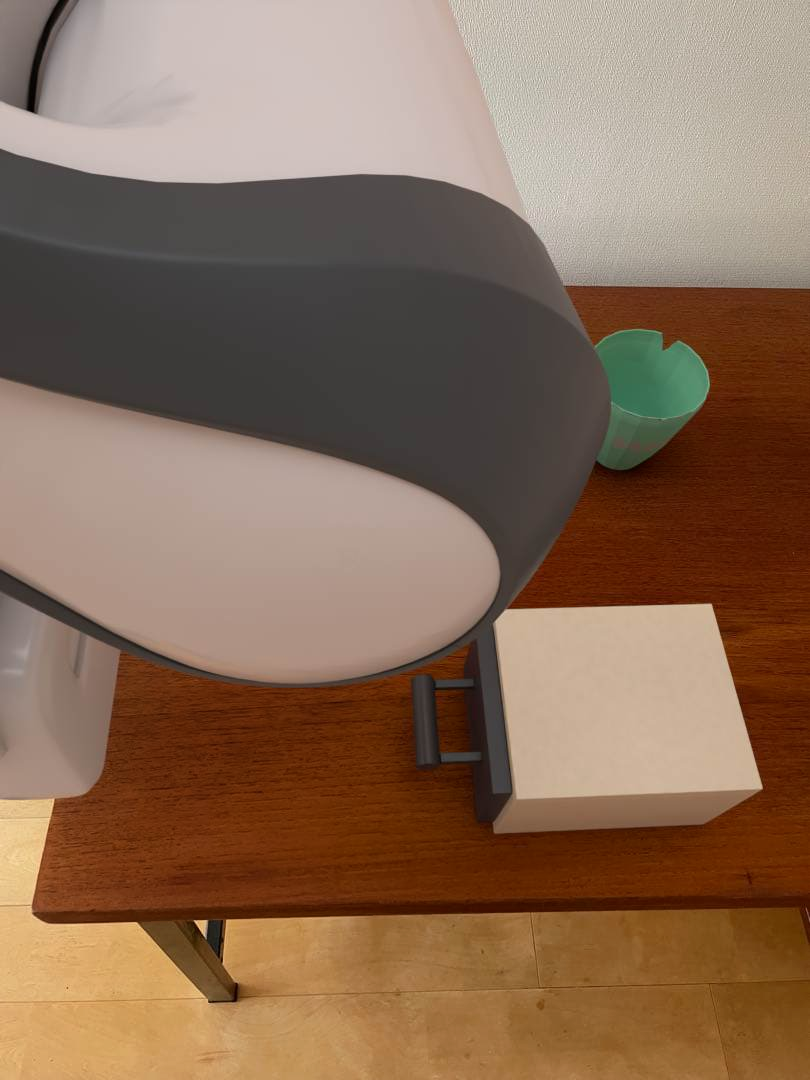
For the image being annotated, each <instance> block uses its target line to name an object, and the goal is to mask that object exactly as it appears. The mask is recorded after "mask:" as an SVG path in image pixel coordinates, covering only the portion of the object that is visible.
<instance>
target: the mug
mask: <svg viewBox="0 0 810 1080" xmlns="http://www.w3.org/2000/svg"><path fill="white" fill-rule="evenodd" d="M664 340H665V339H664V334H663V332H660V331H657V330H653V329H652V330H651V329H642V328H633V329H624V330H618V331H616V332H614V333H611V334H608V335H606V336H604V337H603V338H602V339H601V340H600V341H598V343H597V344H596V345H594V348H595V350H596V352H597V354H598V356H599V358H600V360H601V362H602V364H603V366H604V368H605V371H606V374H607V377H608V381H609V386H610V392H611V415H610V422H609V427H608V431H607V434H606V438H605V441H604V443H603V446H602V448H601V451H600V453H599V455H598V457H597V459H596V462H598V463H599V464H600V465H601V466H603V467H605V468H608V469H611V470H616V471H626V470H630V469H632V468H634V467H637V466H639V464H641V463H643V462H645V461H646V460H648V459H649V458H651V457H652V456H653V455H655V454H656V453H657V452H658V451H659V450H661V449H662V448H664V446H666V445H667V444H668V443H669V442H670V441H671V440H672V438H674V437H675V436H676V435H677V433H678V432H679V431H680V430H681V429H682V428H683V427H684V426H685V425H686V424H688V422H689V421H690V420H691V419H692V418H693V417H694V416H695V415H696V414H697V413H698V412H699V411H700V410H701V408H702V407H703V406H704V404H705V402H706V400H707V397H708V395H709V391H710V387H711V382H710V372H709V371H708V368H707V366H706V365H705V363H704V361H703V359H702V357H700V356H699V355H698V354H697V352H695V351H694V350H693V349H692V347H690V345H688V344H686V343H684V342H682V341H681V340H678V339H677V340H675V341H674V342H673V343H672V344H671V345H670V346H669V347H667V348H665V349H664V342H665V341H664Z"/></svg>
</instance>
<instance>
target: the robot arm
mask: <svg viewBox="0 0 810 1080" xmlns="http://www.w3.org/2000/svg"><path fill="white" fill-rule="evenodd" d="M594 347H595V345H594V343H593V341H592V339H591V337H590V336H589V334H588V331H587V330H586V328H585V326H584V324H583V321H582V319H581V317H580V316H579V314H578V311H577V309H576V307H575V306H574V303H573V301H572V300H571V297H570V296H569V293H568V291H567V289H566V287H565V284H564V283H563V281H562V279H561V277H560V275H559V272H558V271H557V269H556V266H555V265H554V262H553V260H552V258H551V256H550V254H549V251H548V249H547V248H546V246H545V243H544V242H543V241H542V239H541V238H540V236H538V234H537V232H536V231H535V230H534V228H533V226H531V224H530V221H529V218H528V216H527V213H526V210H525V207H524V204H523V201H522V199H521V196H520V193H519V190H518V187H517V185H516V181H515V179H514V176H513V173H512V171H511V168H510V165H509V162H508V159H507V156H506V153H505V151H504V147H503V144H502V142H501V139H500V135H499V133H498V130H497V128H496V125H495V122H494V119H493V116H492V113H491V110H490V108H489V104H488V102H487V99H486V96H485V93H484V91H483V87H482V84H481V82H480V79H479V76H478V73H477V70H476V68H475V65H474V62H473V59H472V57H471V55H470V53H469V51H468V50H467V48H466V46H465V43H464V40H463V37H462V34H461V32H460V29H459V27H458V24H457V21H456V19H455V16H454V13H453V10H452V8H451V5H450V3H449V0H0V800H5V801H6V800H7V801H37V800H38V801H39V800H40V801H41V800H55V799H56V800H57V799H58V800H59V799H67V798H68V799H69V798H74V797H75V798H76V797H80V796H83V795H85V794H87V793H88V792H89V791H90V790H92V788H93V787H94V786H95V785H96V783H97V782H98V781H99V779H100V778H101V776H102V774H103V771H104V767H105V764H106V763H105V762H106V757H107V748H108V741H109V734H110V728H111V719H112V714H113V707H114V699H115V692H116V685H117V680H118V679H117V678H118V673H119V664H120V658H121V652H124V653H126V654H128V655H131V656H133V657H136V658H138V659H141V660H143V661H146V662H149V663H151V664H154V665H157V666H160V667H164V668H167V669H169V670H173V671H176V672H179V673H183V674H187V675H190V676H194V677H199V678H204V679H206V680H211V681H218V682H222V683H229V684H235V685H242V686H243V685H245V686H250V687H251V686H253V687H264V688H283V689H284V688H287V689H291V688H292V689H295V688H296V689H297V688H299V689H300V688H303V689H304V688H305V689H306V688H327V687H336V686H337V687H338V686H346V685H353V684H361V683H366V682H373V681H377V680H382V679H385V678H390V677H395V676H397V675H401V674H404V673H408V672H411V671H414V670H417V669H420V668H423V667H426V666H428V665H430V664H433V663H435V662H437V661H440V660H442V659H444V658H446V657H448V656H451V655H452V654H454V653H456V652H458V651H459V650H461V649H463V648H464V647H466V646H467V645H470V642H472V641H473V640H475V639H476V638H477V637H479V636H480V635H481V634H482V633H483V632H485V631H486V630H487V629H488V628H489V627H490V626H491V625H492V624H493V623H494V622H495V621H496V620H497V619H498V618H499V616H500V615H501V614H502V613H503V612H504V611H505V610H506V609H508V608H509V607H510V605H512V604H513V602H514V600H515V599H516V598H517V597H518V595H519V594H520V593H521V592H522V591H523V590H524V589H525V587H526V585H528V584H529V582H530V581H531V579H532V577H534V575H535V574H536V572H537V571H538V570H539V568H540V567H541V565H542V564H543V562H544V560H545V559H546V558H547V556H548V555H549V553H550V552H551V550H552V548H553V547H554V545H555V543H556V542H557V540H558V538H559V537H560V535H561V534H562V532H563V530H564V528H565V526H566V525H567V522H568V521H569V519H570V517H571V515H572V513H573V511H574V509H576V506H577V504H578V502H579V500H580V498H581V496H582V494H583V492H584V490H585V488H586V486H587V484H588V481H589V478H590V476H591V474H592V472H593V470H594V467H595V464H596V462H597V460H596V459H597V457H598V455H599V453H600V451H601V448H602V446H603V443H604V441H605V438H606V434H607V431H608V427H609V422H610V415H611V392H610V386H609V381H608V377H607V374H606V371H605V368H604V366H603V364H602V362H601V360H600V358H599V356H598V354H597V352H596V350H595V348H594Z"/></svg>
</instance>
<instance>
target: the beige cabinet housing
mask: <svg viewBox="0 0 810 1080" xmlns="http://www.w3.org/2000/svg"><path fill="white" fill-rule="evenodd" d="M493 630H494V639H495V647H496V656H497V664H498V673H499V677H500V679H499V681H500V686H501V687H500V690H501V694H502V696H501V698H502V702H503V704H502V707H503V711H504V713H503V715H504V719H505V721H504V724H505V728H506V730H505V732H506V736H507V738H506V741H507V745H508V747H507V749H508V753H509V755H508V758H509V762H510V764H509V766H510V770H511V772H510V775H511V779H512V781H511V783H512V787H513V788H512V792H513V793H512V795H511V796H510V798H509V799H508V801H507V802H506V804H505V806H504V807H503V809H502V810H501V812H500V814H499V815H498V817H497V818H496V820H495V822H492V829H493V834H495V835H497V834H517V833H518V834H519V833H540V832H541V833H542V832H563V831H583V830H585V831H586V830H607V829H608V830H609V829H630V828H631V829H632V828H633V829H634V828H652V827H677V826H678V827H679V826H696V825H697V826H698V825H705V824H706V823H708V822H710V821H712V820H714V819H716V818H717V817H719V816H720V815H722V814H723V813H725V812H727V811H729V810H731V809H732V808H733V807H735V806H737V805H739V804H740V803H742V802H744V801H746V800H747V799H748V798H750V797H752V796H754V795H755V794H757V793H759V792H760V791H762V790H763V789H764V788H763V784H762V781H761V777H760V773H759V771H758V766H757V762H756V759H755V756H754V751H753V748H752V745H751V741H750V737H749V733H748V730H747V727H746V723H745V719H744V716H743V715H744V714H743V712H742V708H741V705H740V702H739V698H738V694H737V691H736V687H735V684H734V679H733V676H732V672H731V669H730V665H729V662H728V658H727V654H726V650H725V647H724V643H723V640H722V636H721V633H720V629H719V625H718V622H717V618H716V614H715V612H714V608H713V604H712V603H696V604H695V603H694V604H693V603H691V604H686V603H685V604H653V605H651V604H650V605H614V606H581V607H579V606H577V607H544V608H543V607H542V608H541V607H540V608H509V609H508V608H507V609H506V610H505V611H504V612H503V613H502V614H501V615H500V616H499V618H498V619H497V620H496V621H495V622H494V623H493Z"/></svg>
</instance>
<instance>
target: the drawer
mask: <svg viewBox="0 0 810 1080" xmlns="http://www.w3.org/2000/svg"><path fill="white" fill-rule="evenodd" d="M462 674H463V675H462V676H463V678H449V679H448V678H445V679H435V677H434V676H433V675H431V674H424V673H423V674H417V675H413V676H412V677H411V678H410V690H411V692H410V694H411V707H412V708H411V709H412V728H413V743H414V761H415V769H417V770H418V771H419V770H420V771H434V770H437V769H439V768H440V767H442V766H441V765H461V764H471V769H472V782H473V791H474V804H475V813H476V823H493V822H495V820H496V818H497V817H498V815H499V814H500V812H501V810H502V809H503V807H504V806H505V804H506V802H507V801H508V799H509V798H510V796H511V795H512V793H513V792H512V788H513V787H512V783H511V781H512V779H511V775H510V772H511V770H510V766H509V764H510V762H509V758H508V755H509V753H508V749H507V747H508V745H507V741H506V738H507V736H506V732H505V730H506V728H505V724H504V721H505V719H504V715H503V713H504V711H503V707H502V704H503V702H502V698H501V696H502V694H501V690H500V687H501V686H500V681H499V679H500V677H499V673H498V664H497V656H496V647H495V639H494V630H493V624H492V625H491V626H490V627H489V628H488V629H487V630H486V631H485V632H483V633H482V634H481V635H480V636H479V637H477V638H476V639H475V640H473V641H472V642H470V643H469V645H468V650H467V654H466V657H465V661H464V664H463V668H462ZM459 690H463V691H464V696H465V706H466V716H467V727H468V739H469V749H470V751H457V752H455V751H454V752H440V751H441V750H440V740H439V739H440V737H439V726H438V725H439V724H438V711H437V697H436V691H437V692H438V691H459Z"/></svg>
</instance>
